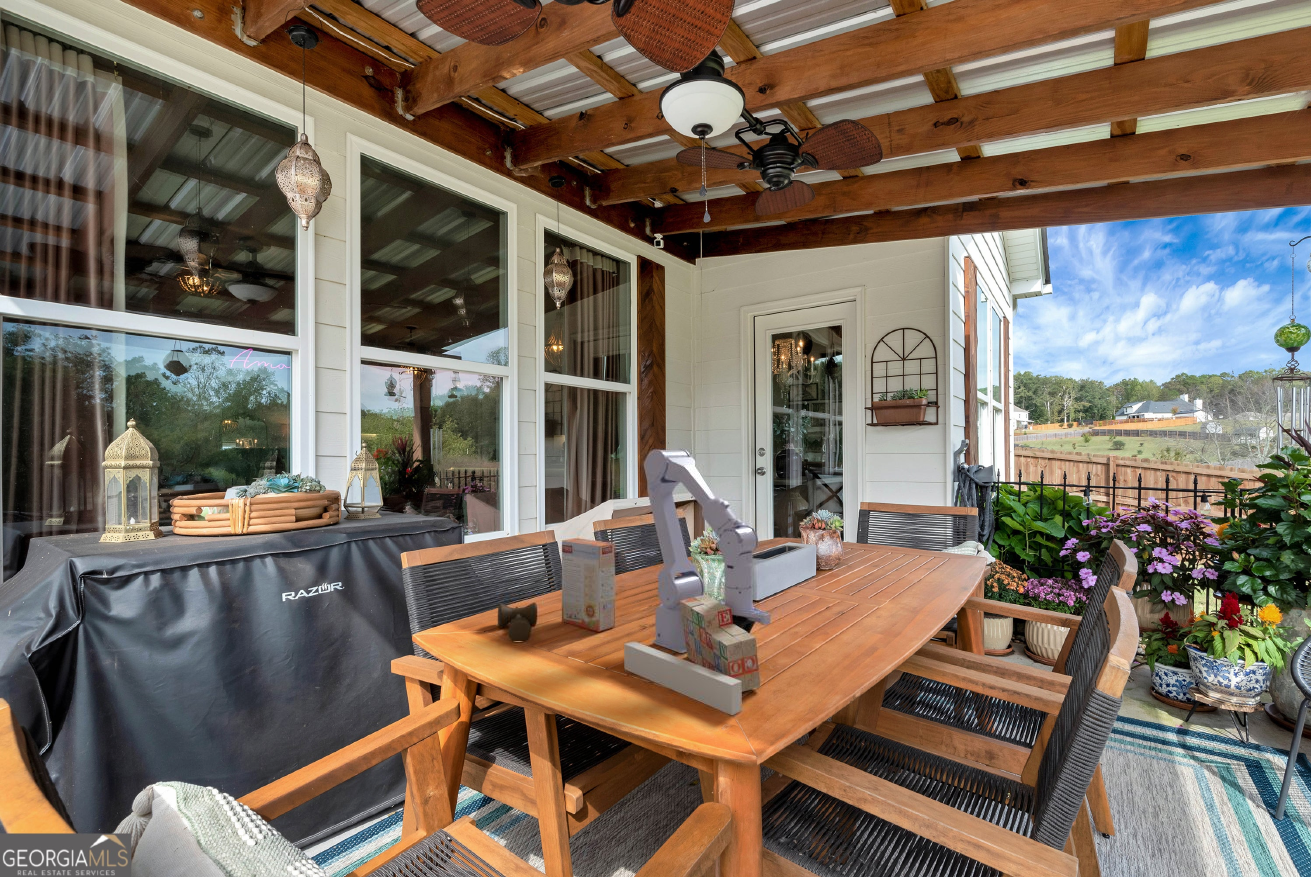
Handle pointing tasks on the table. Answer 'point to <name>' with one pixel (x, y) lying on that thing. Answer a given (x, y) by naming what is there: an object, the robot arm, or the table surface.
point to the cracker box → (588, 583)
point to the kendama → (517, 620)
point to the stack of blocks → (719, 641)
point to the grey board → (684, 677)
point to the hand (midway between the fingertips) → (738, 652)
